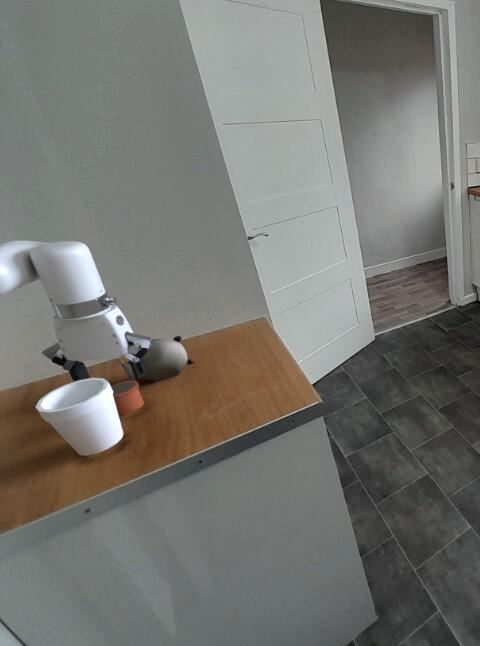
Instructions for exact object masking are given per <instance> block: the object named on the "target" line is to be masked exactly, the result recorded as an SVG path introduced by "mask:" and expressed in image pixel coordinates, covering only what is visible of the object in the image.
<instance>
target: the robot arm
mask: <svg viewBox="0 0 480 646" xmlns="http://www.w3.org/2000/svg"><path fill="white" fill-rule="evenodd" d="M38 280H40V283H41V285H42V286H43V289H44V292H45V293H46V296H47V298H48V300H49V302H50V304H51V307H52V309H53V311H54V313H55V315H54V316H53V327H54V332H55V333H54V334H55V336H56V339H57V342H55V343H54V344H52V345H50V346H48V347H46V348H45V349H43V350H42V352H41V354H42V355H43V356H44V357H46V358H47V359H49V360H51V362H52V363H53V364H55V365H58V366H60V367H62V369H63V370H64V371H68V373H69V375H70V377H71V379H72V382H76V381H79V380H84V379H90V378H91V377H90V374H89V371H88V369H87V367H86V364H85V363H84V362H83V361H92V360H100V359H109V358H116V357H117V358H119V357H122V358H125V359H127V360H128V361H129V360H131V361H132V362H131V363H130V366H131V369H132V371H133V374H134V376H135V378H136V379H135V380H139V379H140V378H141V377H142V376H143V374H144V373H145V372H146V370H147V366H146V364H145V361H144V358H143V356H144V355H145V354H146V353H147V351H148V350H149V349H150V346H151V344H152V341H153V339H154V338H153V337H151V336H146V335H142V334H137V333H134V331H133V329H132V327H131V325H130V323H129V322H128V320H127V317H126V316H125V315H124V313H123V312H122V310H120V308H119V307H118V306H117V305H116V304H117V303H118V299H117V297H114V296H113V297H111V296H109V294H108V292H106V289H105V286H104V283H103V282H102V279H101V276H100V273H99V270H98V268H97V266H96V263H95V261H94V258H93V255H92V252H91V249H89V247H88V246H87V245H86V243H83V242H81V241H76V240H62V241H55V242H47V241H46V242H44V241H43V242H42V241H35V240H22V239H21V240H20V239H19V240H10V241H6V242H3V243H0V297H4V296H5V295H7V294H10V293H11V292H14V291H16V290H18V289H20V288H22V287H23V286H26V285H27V284H30V283H33V282H35V281H38ZM136 344H140V345H141V349H139V348H138V347H137V346H136ZM60 351H61V353H60Z"/></svg>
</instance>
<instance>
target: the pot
mask: <svg viewBox="0 0 480 646" xmlns="http://www.w3.org/2000/svg"><path fill="white" fill-rule="evenodd" d="M110 386H111V388H112V390H113V397H114V401H115V405H116V408H117V412H118V415H127V414H131V413H132V412H135V411H137V410H139V409H140V408H141V407H143V405H145V400H144V398H143V396H142V393H141V391H140V389H139V388H140V384H139V382H138V381H136V380H135V381H130V380H125V381H121V382H118V383H115V384H113V385H110Z"/></svg>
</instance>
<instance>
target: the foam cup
mask: <svg viewBox="0 0 480 646" xmlns="http://www.w3.org/2000/svg"><path fill="white" fill-rule="evenodd" d="M111 386H112V385H111V383H110V382H109V381H108V380H106V378H103V377H102V378H101V377H90V378H89V379H84V380H79V381H76V382H75V381H72V382H70V383H67V384H64V385H62V386H59V387H58V388H56V389H53V390H52V391H51V390H50V392H47V394H45V395H44V396H43V397H41V398H40V399H39V400H38V402H37V403H36V405H35V409H36V410H37V412H38V414H39V415H40V417H41V418H42V419H43V420H44V421H45V422H46V423H49V424H50V425H51V426H52V428H53V429H55V431H56V433H58V434H59V435H60V436H61V437H62V438H63V439H64V441H66V443H68V444H69V445H70V447H71V448H72V449H73V450H74V451H75V452H76V453H77V454H78V455H79V456H85V457H88V456H92V455H97V454H100V453H102V452H104V451H106V450H109V449H111V448H112V447H113V446H115V445H116V444H118V443H119V442H120V441H121V440H122V439H123V436H124V430H123V427H122V423H121V420H120V415H119V414H118V412H117V408H116V405H115V401H114V397H113V390H112V388H111Z"/></svg>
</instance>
